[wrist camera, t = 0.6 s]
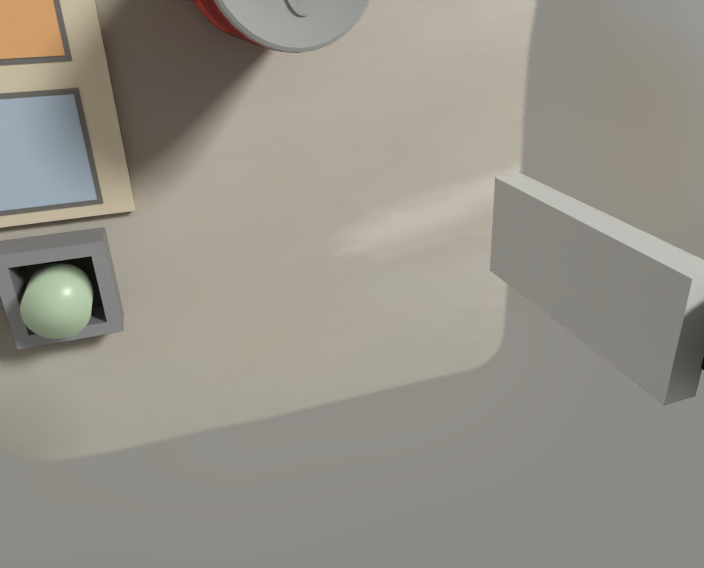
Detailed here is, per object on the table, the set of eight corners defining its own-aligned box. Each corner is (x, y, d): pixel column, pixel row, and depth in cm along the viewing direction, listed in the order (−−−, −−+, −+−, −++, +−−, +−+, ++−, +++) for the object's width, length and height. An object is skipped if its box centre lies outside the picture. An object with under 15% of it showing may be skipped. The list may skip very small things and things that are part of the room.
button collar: (-4, 241, 36) (-13, 257, 34) (104, 227, 37) (103, 241, 35) (23, 330, 38) (17, 349, 36) (123, 313, 40) (123, 331, 38)
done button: (19, 268, 35) (12, 286, 33) (86, 258, 36) (83, 276, 34) (35, 322, 37) (29, 344, 34) (99, 311, 38) (97, 332, 35)
